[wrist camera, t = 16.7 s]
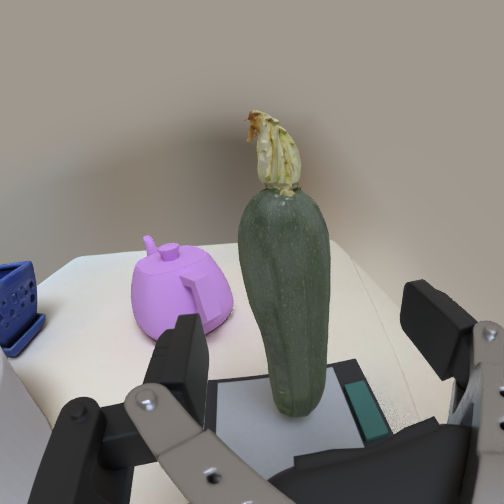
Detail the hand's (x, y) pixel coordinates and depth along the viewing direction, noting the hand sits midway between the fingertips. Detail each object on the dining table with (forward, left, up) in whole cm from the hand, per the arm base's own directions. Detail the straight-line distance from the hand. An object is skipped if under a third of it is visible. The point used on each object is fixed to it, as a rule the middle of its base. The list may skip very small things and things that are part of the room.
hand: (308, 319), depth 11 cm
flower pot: (+43, -21, -16) cm, 51 cm away
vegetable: (0, -4, -12) cm, 13 cm away
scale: (0, -4, -15) cm, 16 cm away
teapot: (+12, -26, -16) cm, 33 cm away
